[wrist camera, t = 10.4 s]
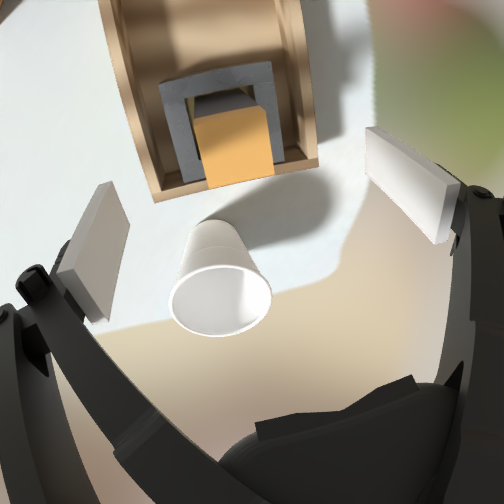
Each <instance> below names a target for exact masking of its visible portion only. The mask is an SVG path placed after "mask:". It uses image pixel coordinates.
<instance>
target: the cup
mask: <svg viewBox="0 0 504 504" xmlns="http://www.w3.org/2000/svg"><path fill="white" fill-rule="evenodd" d="M271 304H272V291H271V287H270V285H269V283H268V281H267V280H266V279H265V278H264V277H263V276H262V275H261V273H260V272H259V270H258V268H257V266H256V265H255V263H254V261H253V260H252V258H251V256H250V254H249V253H248V251H247V249H246V247H245V246H244V244H243V242H242V240H241V238H240V236H239V235H238V233H237V231H236V230H235V228H234V227H233V226H232V225H230V224H229V223H227V222H225V221H222V220H207V221H204V222H201V223H199V224H198V225H196V226H195V227H194V228H193V229H192V231H191V232H190V234H189V237H188V240H187V243H186V247H185V251H184V254H183V258H182V261H181V265H180V269H179V272H178V275H177V279H176V283H175V286H174V287H173V289H172V291H171V294H170V297H169V307H170V312H171V314H172V316H173V318H174V319H175V320H176V321H177V322H178V324H179V325H181V326H182V327H183V328H185V329H186V330H188V331H191V332H192V333H196V334H199V335H203V336H210V337H223V336H230V335H234V334H238V333H241V332H244V331H246V330H248V329H250V328H252V327H253V326H255V325H256V324H257V323H258V322H260V321H261V320H262V319H263V318H264V317H265V315H266V314H267V312H268V311H269V309H270V306H271Z"/></svg>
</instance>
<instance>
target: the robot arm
mask: <svg viewBox="0 0 504 504" xmlns="http://www.w3.org/2000/svg"><path fill="white" fill-rule="evenodd" d="M365 174H366V175H367V176H368V177H369V178H370V179H371V180H372V181H373V182H374V183H375V184H376V185H378V186H379V187H380V188H381V189H382V190H383V191H384V192H385V193H386V194H387V195H388V196H389V197H390V198H391V199H392V200H393V201H394V202H395V203H396V204H397V205H398V206H399V207H400V208H401V209H402V210H403V211H404V212H405V213H406V215H407V216H408V217H409V218H410V219H411V220H412V221H413V222H414V223H415V224H416V225H417V226H418V227H419V228H420V229H421V231H422V232H423V233H424V234H425V235H426V236H427V237H428V238H429V239H430V240H431V242H432V243H433V244H434V245H435V244H438V243H441V242H445V241H448V237H449V233H450V229H452V230H453V231H454V232H455V233H456V236H455V239H454V243H453V246H452V250H451V253H450V256H452V255H453V269H452V282H451V292H450V302H449V310H448V318H447V324H446V331H445V337H444V343H443V348H442V354H441V359H440V364H439V369H438V373H437V376H436V378H435V381H434V383H416V382H415V380H414V378H413V376H412V375H409V376H406V377H404V378H402V379H399V380H396V381H394V382H391V383H389V384H386V385H383V386H381V387H378V388H376V389H375V390H373V391H372V392H371V393H369V394H367V395H366V396H364V397H363V398H361V399H360V400H359V401H357V402H355V403H353V404H352V405H350V406H349V407H347V408H345V409H344V410H341V411H333V412H316V413H315V412H314V413H295V414H290V415H286V416H282V417H278V418H274V419H269V420H264V421H260V422H255V427H256V432H254V433H252V434H250V435H248V436H247V437H245V438H243V439H242V440H240V441H239V442H238V443H236V444H235V445H234V446H232V447H231V448H230V449H229V450H228V451H227V452H226V453H225V454H224V456H223V457H222V458H221V459H220V460H219V462H217V461H216V460H214V459H213V458H212V457H211V456H209V455H208V454H207V453H206V452H205V451H203V450H202V449H201V448H200V447H199V446H197V445H196V444H195V443H194V442H193V441H192V440H190V439H189V438H188V437H187V436H186V435H185V434H184V433H183V432H182V431H180V430H179V429H178V428H177V427H176V426H175V425H174V424H173V423H172V422H171V421H170V420H169V419H168V418H167V417H166V416H164V414H163V413H161V412H160V411H159V410H158V409H157V408H156V407H155V406H154V405H153V404H152V403H151V402H150V400H149V399H148V398H147V397H146V396H145V395H144V394H143V393H142V392H141V391H140V390H139V389H138V388H137V387H136V386H135V385H134V384H133V383H132V381H130V379H129V378H128V377H127V376H126V375H125V374H124V373H123V372H122V370H121V369H120V368H119V367H118V366H117V365H116V363H115V362H114V361H113V360H112V359H111V358H110V356H109V355H108V354H107V353H106V352H105V350H104V349H103V348H102V347H101V346H100V344H99V343H98V342H97V341H96V339H95V338H94V337H93V335H92V334H91V333H90V332H89V330H88V329H87V328H86V326H85V325H84V324H83V322H84V318H85V316H86V317H87V318H88V320H89V321H90V322H91V324H92V325H96V324H101V323H107V322H109V319H110V313H111V308H112V303H113V297H114V292H115V287H116V283H117V278H118V273H119V269H120V264H121V260H122V256H123V252H124V248H125V244H126V240H127V236H128V232H129V228H130V224H129V221H128V219H127V217H126V214H125V212H124V210H123V207H122V205H121V202H120V200H119V197H118V195H117V192H116V190H115V187H114V185H113V182H112V181H110V182H107V183H104V184H101V185H98V187H97V189H96V191H95V193H94V195H93V196H92V198H91V200H90V202H89V204H88V206H87V208H86V210H85V212H84V214H83V216H82V218H81V220H80V222H79V224H78V226H77V228H76V230H75V232H74V234H73V236H72V238H71V240H68V241H67V242H66V243H65V245H64V246H63V247H62V248H61V250H60V252H59V254H58V256H57V257H58V258H57V259H56V261H55V265H53V268H52V270H51V272H50V275H48V274H47V272H46V271H45V269H44V267H43V266H42V265H40V264H36V265H33V266H31V267H29V268H28V269H26V270H25V271H24V272H23V273H22V274H21V275H20V277H19V278H18V279H17V282H16V284H15V285H16V289H17V291H18V292H19V293H20V295H21V296H22V297H23V299H24V300H25V301H26V303H27V304H28V305H27V306H25V307H23V308H21V309H20V310H18V311H17V310H16V309H15V308H14V306H13V305H12V304H10V303H8V304H4V305H2V306H1V307H0V464H1V469H2V473H3V478H4V481H5V485H6V489H7V493H8V496H9V500H10V503H11V504H100V502H99V499H98V497H97V495H96V493H95V491H94V489H93V486H92V484H91V482H90V480H89V477H88V475H87V473H86V470H85V468H84V465H83V463H82V460H81V458H80V455H79V452H78V450H77V447H76V444H75V441H74V439H73V436H72V433H71V430H70V427H69V423H68V420H67V418H66V414H65V410H64V407H63V404H62V400H61V396H60V393H59V389H58V385H57V381H56V376H55V372H54V368H53V363H52V358H51V354H50V352H51V353H52V354H53V356H54V358H55V360H56V362H57V363H58V365H59V367H60V368H61V370H62V372H63V374H64V375H65V377H66V379H67V380H68V382H69V384H70V385H71V387H72V388H73V390H74V392H75V393H76V395H77V396H78V398H79V399H80V401H81V402H82V404H83V405H84V407H85V408H86V410H87V411H88V413H89V414H90V416H91V417H92V418H93V420H94V421H95V423H96V424H97V425H98V427H99V428H100V429H101V431H102V432H103V433H104V435H105V436H106V437H107V439H108V440H109V441H110V443H111V444H112V445H113V447H114V449H115V450H114V452H113V454H114V456H115V458H116V459H117V461H118V462H119V463H120V465H121V466H122V467H123V468H124V469H125V471H126V472H127V473H128V474H129V475H130V476H131V478H132V479H133V480H134V481H135V482H136V483H137V484H138V485H139V487H140V488H141V489H142V490H143V491H144V492H145V493H146V494H147V495H148V496H149V497H150V498H151V499H152V500H153V501H154V502H155V503H156V504H504V197H503V198H495V197H494V195H493V194H492V193H491V192H490V191H489V190H487V189H485V188H483V187H480V186H475V185H472V186H469V187H468V186H467V185H465V184H464V183H463V182H462V181H460V180H459V179H458V178H456V177H455V176H454V175H452V174H451V173H450V172H449V171H446V169H444V168H443V167H442V166H440V165H439V164H436V163H434V162H432V161H431V160H429V159H428V158H426V157H425V156H423V155H422V154H420V153H419V152H417V151H416V150H415V149H413V148H412V147H410V146H408V145H407V144H405V143H404V142H402V141H400V140H399V139H398V138H396V137H395V136H393V135H391V134H389V133H388V132H386V131H385V130H383V129H381V128H380V127H378V126H376V127H366V155H365Z"/></svg>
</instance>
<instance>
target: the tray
mask: <svg viewBox="0 0 504 504" xmlns="http://www.w3.org/2000/svg"><path fill="white" fill-rule="evenodd" d="M98 4H99V9H100V13H101V18H102V23H103V28H104V32H105V36H106V41H107V45H108V49H109V53H110V58H111V62H112V66H113V70H114V73H115V77H116V81H117V85H118V88H119V92H120V96H121V99H122V103H123V106H124V110H125V113H126V117H127V120H128V124H129V127H130V130H131V134H132V137H133V140H134V143H135V147H136V150H137V153H138V156H139V159H140V162H141V165H142V168H143V171H144V174H145V177H146V180H147V183H148V186H149V189H150V192H151V195H152V198H153V201H154V203H158V202H162V201H165V200H169V199H173V198H177V197H181V196H185V195H189V194H193V193H197V192H201V191H205V190H210V189H209V187H208V183H207V179H206V178H203V179H198V180H194V181H190V182H186V183H184V181H183V177H182V173H181V170H180V166H179V163H178V159H177V156H176V152H175V148H174V145H173V141H172V137H171V134H170V130H169V126H168V122H167V119H166V115H165V111H164V107H163V103H162V99H161V95H160V91H159V87H158V84H159V83H160V82H162V81H163V80H165V79H169V78H172V77H176V76H180V75H184V74H188V73H192V72H197V71H201V70H206V69H210V68H215V67H220V66H225V65H231V64H237V63H242V62H249V61H255V60H265V61H271V65H272V71H273V78H274V84H275V91H276V98H277V105H278V112H279V120H280V127H281V135H282V142H283V150H284V158H285V161H282V162H277V163H273V165H274V172H275V175H279V174H284V173H289V172H294V171H300V170H305V169H311V168H316V167H319V162H318V148H317V135H316V123H315V112H314V102H313V93H312V84H311V75H310V67H309V59H308V51H307V44H306V37H305V30H304V23H303V17H302V11H301V5H300V0H98ZM271 176H274V175H271ZM266 177H269V176H266ZM261 178H264V177H261ZM256 179H259V178H256ZM252 180H254V179H252ZM247 181H250V180H247ZM242 182H245V181H242ZM238 183H240V182H238ZM233 184H236V183H233ZM229 185H231V184H229ZM225 186H227V185H225ZM220 187H223V186H220ZM216 188H218V187H216ZM212 189H214V188H212Z"/></svg>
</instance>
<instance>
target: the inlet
mask: <svg viewBox="0 0 504 504" xmlns="http://www.w3.org/2000/svg"><path fill="white" fill-rule="evenodd" d="M158 87H159V91H160V95H161V99H162V103H163V107H164V111H165V115H166V119H167V122H168V126H169V130H170V134H171V137H172V141H173V145H174V148H175V152H176V156H177V159H178V163H179V166H180V170H181V173H182V177H183V181H184V183H186V182H190V181H194V180H198V179H203V178H206V175H205V171H204V167H203V163H202V159H201V155H200V151H199V147H198V142H197V138H196V134H195V130H194V98H195V97H199V96H204V95H208V94H213V93H217V92H222V91H227V90H232V89H237V88H240V89H241V90H243V91H244V92H245V93H246V94H247V95H248V96H249V97H251V98H252V99H253V100H254V101H255V102H256V103H257V104H258V105H259V106H261V107H262V108H263V109H264V110H265V111H266V117H267V124H268V131H269V137H270V144H271V151H272V158H273V163H277V162H282V161H285V158H284V150H283V142H282V135H281V127H280V120H279V112H278V105H277V98H276V91H275V84H274V78H273V71H272V65H271V61H265V60H255V61H249V62H242V63H237V64H231V65H225V66H220V67H215V68H210V69H206V70H201V71H197V72H192V73H188V74H184V75H180V76H176V77H172V78H169V79H165V80H163V81H162V82H160V83H159V84H158Z"/></svg>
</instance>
